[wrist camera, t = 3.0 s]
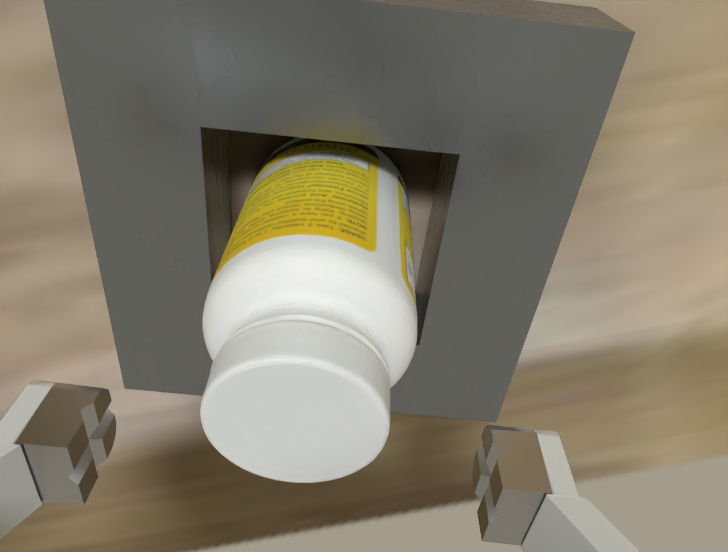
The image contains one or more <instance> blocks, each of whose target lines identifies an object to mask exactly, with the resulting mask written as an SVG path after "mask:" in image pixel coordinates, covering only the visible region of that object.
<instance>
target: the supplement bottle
mask: <svg viewBox="0 0 728 552" xmlns="http://www.w3.org/2000/svg"><path fill="white" fill-rule="evenodd" d="M202 324H203V334H204V340H205V343H206V347H207V350H208V352H209V354H210V357H211V359H212V360H213V363H212V366H211V371H210V376H209V379H208V382H207V385H206V388H205V391H204V394H203V397H202V401H201V408H200V419H201V422H202V426H203V430H204V432H205V434H206V436H207V438H208V440H209V441H210V442H211V443H212V445H213V446H214V447H215V448H216V449H217V450H218V451H219V452H220V453H221V454H222V455H223V456H224V457H226V458H227V459H228V460H230V461H231V462H233V463H234V464H235V465H237V466H239V467H240V468H242V469H245V470H247V471H249V472H251V473H254V474H257V475H260V476H263V477H266V478H270V479H274V480H278V481H286V482H294V483H315V482H323V481H330V480H334V479H338V478H341V477H344V476H347V475H350V474H352V473H354V472H356V471H358V470H360V469H361V468H363V467H365V466H366V465H368V464H369V463H370V462H371V461H373V460H374V459H375V458H376V457H377V455H378V454H379V453H380V452H381V450H382V449H383V447H384V445H385V443H386V441H387V437H388V434H389V429H390V388H391V387H393V386H394V385H395V384H396V383H397V382H398V380H399V379H400V378H401V377H402V375H403V374H404V373H405V371H406V370H407V368H408V366H409V364H410V362H411V360H412V357H413V354H414V351H415V347H416V342H417V309H416V296H415V280H414V267H413V252H412V237H411V221H410V209H409V200H408V194H407V190H406V187H405V184H404V181H403V178H402V176H401V174H400V173H399V171H398V169H397V168H396V166H395V165H394V164H393V162H392V161H391V160H390V159H389V158H388V157H387V156H386V155H385V154H384V153H383V152H382V151H380V150H379V149H378V148H376V147H375V146H374V145H365V144H356V143H347V142H337V141H328V140H319V139H309V138H300V137H297V138H295V139H292V140H290V141H288V142H287V143H285V144H283V145H282V146H280V147H279V148H278V149H276V150H275V151H274V152H273V153H272V154H271V155H270V156H269V157H268V158H267V160H266V161H265V162H264V164H263V165H262V167H261V168H260V170H259V171H258V173H257V175H256V177H255V178H254V180H253V183H252V185H251V188H250V190H249V193H248V195H247V197H246V200H245V202H244V205H243V207H242V210H241V212H240V215H239V217H238V219H237V222H236V224H235V227H234V229H233V232H232V234H231V236H230V239H229V241H228V244H227V246H226V249H225V251H224V253H223V256H222V258H221V261H220V263H219V266H218V268H217V271H216V273H215V275H214V278H213V280H212V283H211V285H210V288H209V291H208V294H207V297H206V301H205V305H204V310H203V319H202Z"/></svg>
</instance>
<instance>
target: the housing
mask: <svg viewBox="0 0 728 552" xmlns="http://www.w3.org/2000/svg"><path fill="white" fill-rule="evenodd" d="M44 4H45V9H46V13H47V18H48V23H49V28H50V33H51V37H52V42H53V47H54V52H55V57H56V61H57V66H58V71H59V76H60V81H61V85H62V90H63V95H64V100H65V105H66V109H67V114H68V119H69V124H70V129H71V133H72V138H73V143H74V148H75V153H76V157H77V162H78V167H79V172H80V177H81V181H82V186H83V191H84V196H85V201H86V205H87V210H88V215H89V220H90V225H91V229H92V234H93V239H94V244H95V249H96V253H97V258H98V263H99V268H100V273H101V277H102V282H103V287H104V292H105V297H106V301H107V306H108V311H109V316H110V321H111V325H112V330H113V335H114V340H115V344H116V349H117V354H118V359H119V364H120V368H121V373H122V378H123V383H124V388H125V389H135V390H146V391H158V392H169V393H180V394H191V395H202V396H203V394H204V391H205V388H206V385H207V382H208V379H209V376H210V371H211V366H212V363H213V360H212V359H211V357H210V354H209V352H208V350H207V347H206V343H205V340H204V334H203V324H202V319H203V310H204V305H205V301H206V297H207V294H208V291H209V288H210V285H211V283H212V280H213V278H214V275H215V273H216V271H217V268H218V266H219V263H220V261H221V258H222V256H223V253H224V251H225V249H226V246H227V244H228V241H229V239H230V236H231V234H232V228H231V204H230V179H229V155H228V131H227V130H235V131H244V132H253V133H263V134H272V135H281V136H291V137H300V138H309V139H319V140H328V141H337V142H347V143H356V144H365V145H375V146H384V147H394V148H403V149H412V150H422V151H431V152H440V153H442V157H441V162H440V167H439V172H438V178H437V183H436V188H435V193H434V198H433V204H432V209H431V214H430V219H429V224H428V229H427V235H426V240H425V245H424V250H423V255H422V260H421V266H420V271H419V276H418V281H417V286H416V291H415V296H416V309H417V342H416V347H415V351H414V354H413V357H412V360H411V362H410V364H409V366H408V368H407V370H406V371H405V373H404V374H403V375H402V377H401V378H400V379H399V380H398V382H397V383H396V384H395V385H394V386H393V387H391V388H390V412H391V413H402V414H413V415H424V416H435V417H446V418H457V419H469V420H480V421H491V422H496V420H497V418H498V415H499V412H500V409H501V406H502V404H503V401H504V398H505V395H506V392H507V390H508V387H509V384H510V381H511V378H512V376H513V373H514V370H515V367H516V364H517V362H518V359H519V356H520V353H521V350H522V348H523V345H524V342H525V339H526V337H527V334H528V331H529V328H530V325H531V323H532V320H533V317H534V314H535V311H536V309H537V306H538V303H539V300H540V297H541V295H542V292H543V289H544V286H545V283H546V281H547V278H548V275H549V272H550V269H551V267H552V264H553V261H554V258H555V255H556V253H557V250H558V247H559V244H560V241H561V239H562V236H563V233H564V230H565V227H566V225H567V222H568V219H569V216H570V213H571V211H572V208H573V205H574V202H575V199H576V197H577V194H578V191H579V188H580V185H581V183H582V180H583V177H584V174H585V172H586V169H587V166H588V163H589V160H590V158H591V155H592V152H593V149H594V146H595V144H596V141H597V138H598V135H599V132H600V130H601V127H602V124H603V121H604V118H605V116H606V113H607V110H608V107H609V104H610V102H611V99H612V96H613V93H614V90H615V88H616V85H617V82H618V79H619V76H620V74H621V71H622V68H623V65H624V62H625V60H626V57H627V54H628V51H629V48H630V46H631V43H632V40H633V37H634V34H635V32H634V31H632V30H631V29H629V28H627V27H626V26H624V25H623V24H621V23H619V22H618V21H616V20H614V19H613V18H611V17H610V16H608V15H606V14H605V13H603V12H602V11H600V10H598V9H597V8H590V7H582V6H573V5H565V4H556V3H548V2H539V1H531V0H44Z"/></svg>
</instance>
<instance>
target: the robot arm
mask: <svg viewBox="0 0 728 552" xmlns="http://www.w3.org/2000/svg"><path fill="white" fill-rule="evenodd" d="M111 401H112V400H111V397H110V393H109V390H108V389H104V388H97V387H88V386H80V385H72V384H64V383H54V382H45V381H36V380H34V381H32V382H31V383H29V384H28V385H27V386H26V387H25V388H24V389H23V391H22V392H21V394H20V395H19V396H18V398H17V399H16V400H15V402H14V403H13V405H12V406H11V407H10V409H9V410H8V411H7V413H6V414H5V415H4V417H3V418H2V420H1V421H0V539H1V538H3V537H4V536H5V535H6V534H7V533H9V532H10V531H11V530H12V529H13V528H15V527H16V526H17V525H18V524H19V523H21V522H22V521H23V520H24V519H25V518H27V517H28V516H29V515H30V514H31V513H33V512H34V511H35V510H36V509H37V508H39V507H40V506H41V505H42V503H41V502H47V503H63V504H79V505H84V504H85V502H86V500H87V498H88V496H89V494H90V492H91V490H92V488H93V486H94V484H95V482H96V480H97V478H98V475H97V471H96V466H97V465H99V464H100V463H102V462H103V461H104V460H106V459H107V457H108V455H109V453H110V451H111V449H112V447H113V443H114V439H115V435H116V420H115V415H114V414H113V413H112V412H111V411H110V410H109V409H107V408H108V406H109V404H110V402H111ZM482 441H483V446H482V447H481V448H479V449H478V450H477V452H476V455H475V459H474V466H473V485H474V492H475V494H476V495H477V496H478V498H479V499H480V500H481V503H480V506H479V509H478V512H477V513H478V519H479V525H480V532H481V538H482V541H487V542H496V543H504V544H513V545H521V548H522V550H523V551H524V552H640V551H639V550H637V548H635V546H634V545H633V544H632V543H630V542H629V540H628V539H627V538H626V537H625V536H624V535H623V534H622V533H620V531H619V530H618V529H617V528H616V527H615V526H614V525H613V524H612V523H611V522H610V521H609V520H608V519H607V518H606V517H605V516H604V515H603V514H602V513H601V512H600V511H599V510H598V509H597V508H596V507H595V506H594V505H593V504H592V503H591V502H590V501H589V500H588V499H587V498H582V497H579V494H578V491H577V488H576V485H575V482H574V479H573V476H572V473H571V470H570V467H569V464H568V461H567V458H566V455H565V452H564V449H563V446H562V442H561V439H560V436H559V435H558V434H557V432H556V431H545V430H535V429H533V430H531V429H527V428H515V427H503V426H491V425H487V426H486V427H485V429H484V431H483V434H482Z"/></svg>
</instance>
